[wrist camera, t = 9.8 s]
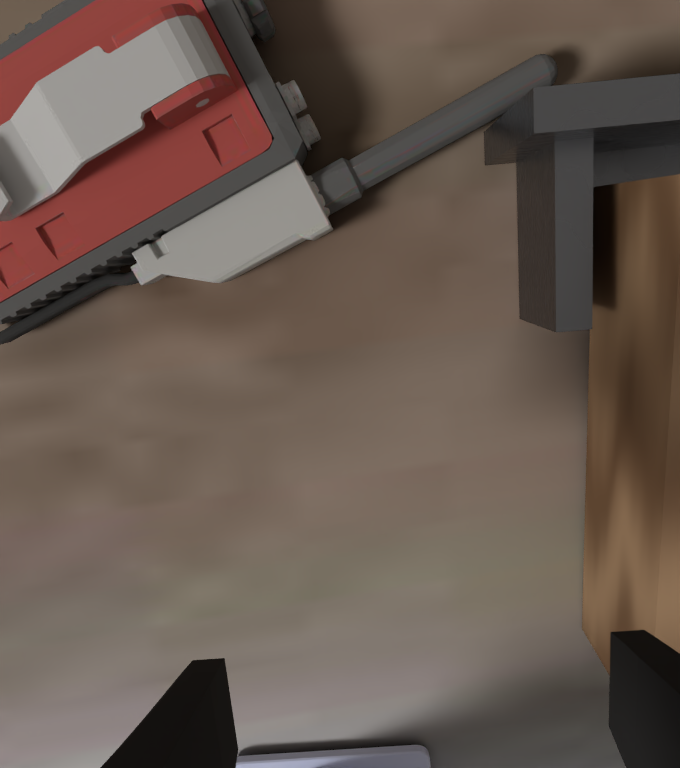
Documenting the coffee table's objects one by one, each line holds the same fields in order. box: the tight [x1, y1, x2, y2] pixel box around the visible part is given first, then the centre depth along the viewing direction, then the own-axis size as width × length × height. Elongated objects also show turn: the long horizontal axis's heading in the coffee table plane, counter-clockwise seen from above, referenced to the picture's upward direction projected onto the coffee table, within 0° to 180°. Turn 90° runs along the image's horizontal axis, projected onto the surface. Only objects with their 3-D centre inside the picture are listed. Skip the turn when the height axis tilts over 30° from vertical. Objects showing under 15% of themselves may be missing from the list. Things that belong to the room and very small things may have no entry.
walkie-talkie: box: [0, 0, 557, 344], centre depth 17 cm, size 9×4×20 cm
